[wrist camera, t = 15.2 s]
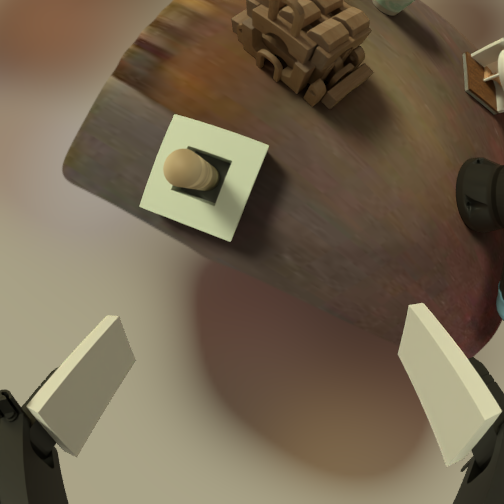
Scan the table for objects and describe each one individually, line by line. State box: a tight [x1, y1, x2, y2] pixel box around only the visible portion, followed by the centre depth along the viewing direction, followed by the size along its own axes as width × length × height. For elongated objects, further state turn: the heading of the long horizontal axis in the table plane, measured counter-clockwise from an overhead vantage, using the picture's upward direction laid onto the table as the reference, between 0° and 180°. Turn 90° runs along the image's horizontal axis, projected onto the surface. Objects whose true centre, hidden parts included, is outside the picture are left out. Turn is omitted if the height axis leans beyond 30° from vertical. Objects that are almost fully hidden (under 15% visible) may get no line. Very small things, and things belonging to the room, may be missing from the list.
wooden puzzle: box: [231, 0, 373, 109], centre depth 26 cm, size 22×15×19 cm, turn 44°
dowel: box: [163, 149, 220, 191], centre depth 33 cm, size 4×4×14 cm
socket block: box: [139, 114, 269, 242], centre depth 37 cm, size 14×14×5 cm
